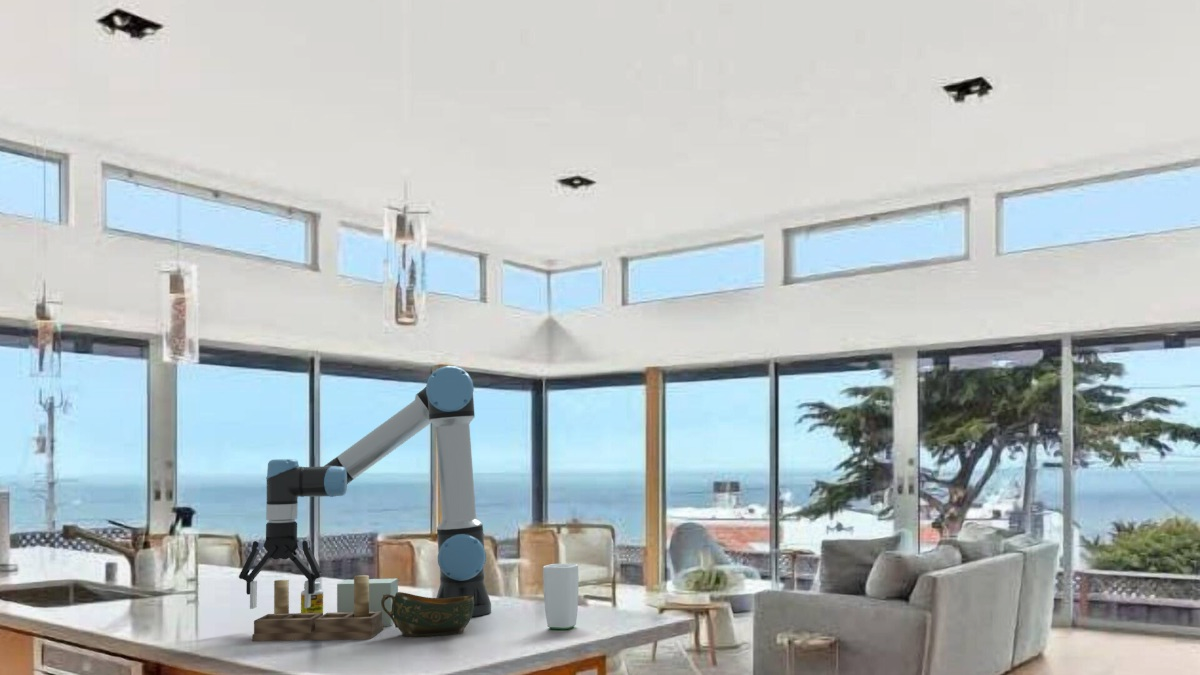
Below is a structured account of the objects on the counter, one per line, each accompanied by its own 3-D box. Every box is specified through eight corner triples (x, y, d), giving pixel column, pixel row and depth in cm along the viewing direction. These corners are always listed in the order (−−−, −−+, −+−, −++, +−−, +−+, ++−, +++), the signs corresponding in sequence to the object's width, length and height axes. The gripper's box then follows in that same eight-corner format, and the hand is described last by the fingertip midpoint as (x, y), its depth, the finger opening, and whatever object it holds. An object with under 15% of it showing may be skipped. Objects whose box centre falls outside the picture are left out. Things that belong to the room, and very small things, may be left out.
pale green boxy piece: (398, 619, 278) (397, 578, 279) (390, 625, 270) (390, 582, 271) (346, 621, 279) (346, 579, 280) (337, 626, 270) (337, 584, 271)
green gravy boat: (399, 628, 265) (399, 586, 266) (477, 630, 261) (477, 587, 262) (378, 638, 253) (378, 594, 254) (460, 640, 249) (459, 595, 250)
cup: (581, 626, 262) (580, 564, 263) (569, 631, 255) (567, 567, 257) (554, 624, 265) (553, 563, 266) (541, 630, 258) (540, 566, 260)
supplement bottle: (304, 626, 273) (304, 584, 274) (297, 623, 277) (297, 582, 278) (326, 623, 276) (326, 582, 277) (319, 620, 280) (319, 580, 281)
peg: (290, 628, 270) (290, 579, 271) (286, 630, 266) (286, 581, 267) (276, 628, 270) (276, 579, 271) (272, 631, 266) (272, 581, 267)
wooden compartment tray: (382, 629, 264) (382, 572, 266) (371, 638, 252) (371, 578, 254) (269, 632, 265) (269, 575, 266) (252, 641, 253) (252, 581, 254)
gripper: (335, 519, 274) (334, 605, 272) (237, 520, 274) (236, 605, 272) (327, 521, 266) (326, 609, 264) (226, 522, 267) (224, 610, 265)
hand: (280, 607), depth 268 cm, fingers open, 13 cm apart
